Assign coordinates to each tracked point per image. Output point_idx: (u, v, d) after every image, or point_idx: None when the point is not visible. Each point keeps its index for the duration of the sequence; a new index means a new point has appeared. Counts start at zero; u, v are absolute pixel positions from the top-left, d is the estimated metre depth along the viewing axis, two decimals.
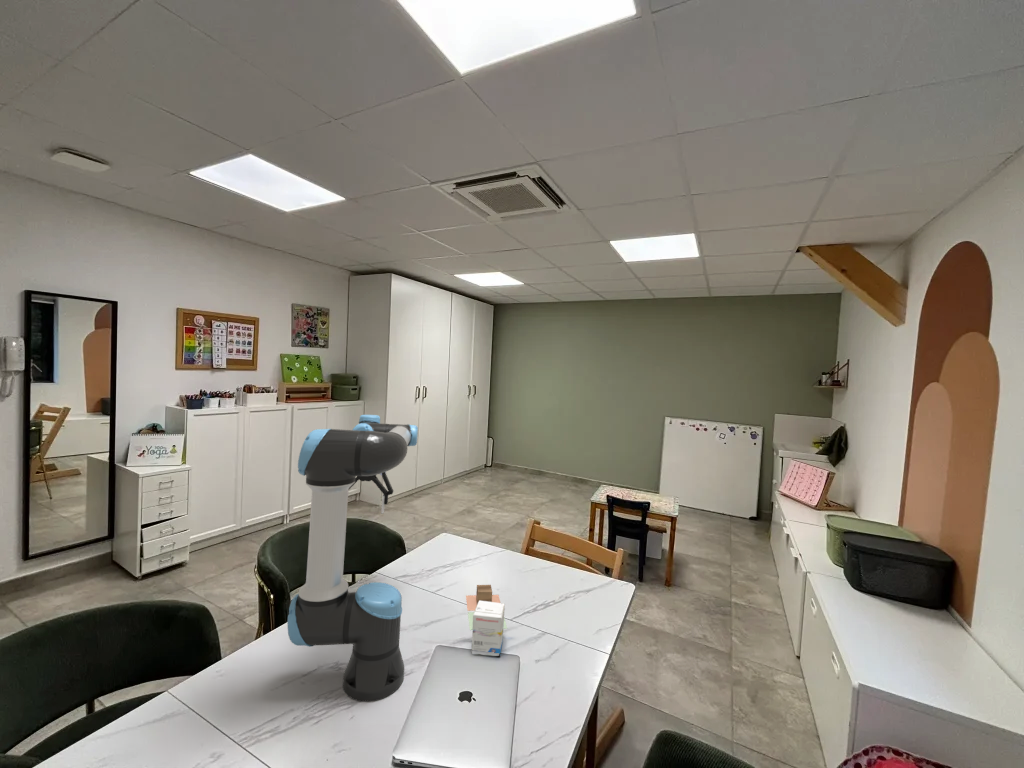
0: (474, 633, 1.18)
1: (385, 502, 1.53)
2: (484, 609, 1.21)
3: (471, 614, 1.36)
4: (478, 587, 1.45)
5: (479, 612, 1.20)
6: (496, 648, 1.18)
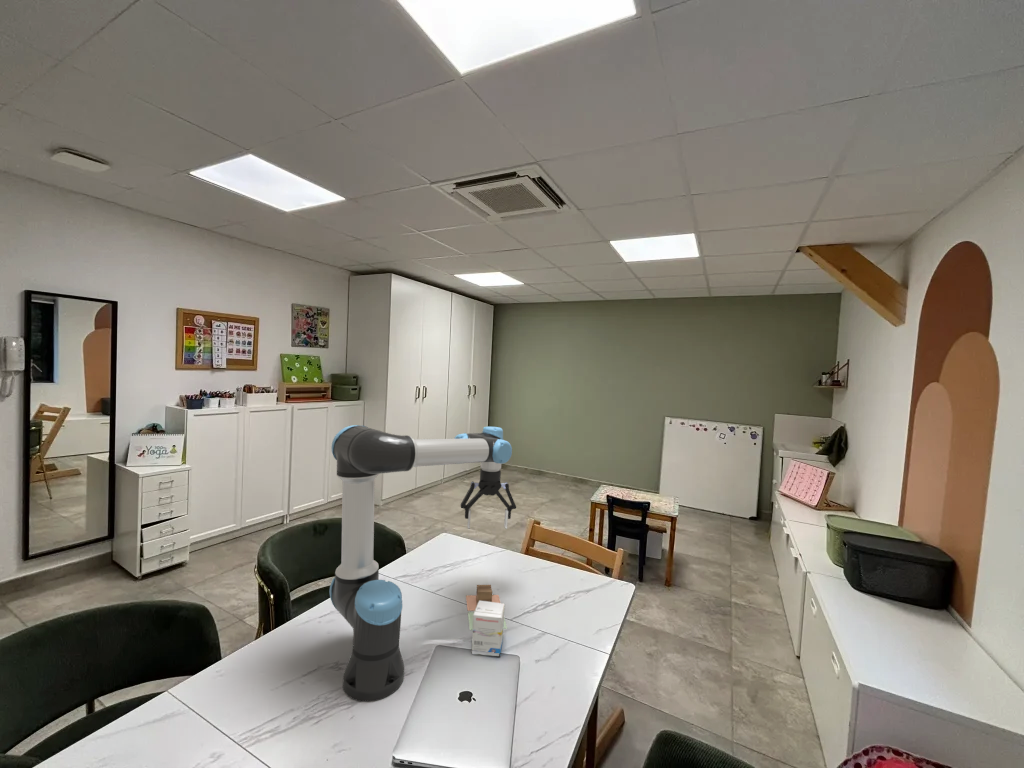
0: (474, 633, 1.18)
1: (508, 517, 1.49)
2: (484, 609, 1.21)
3: (471, 614, 1.36)
4: (478, 587, 1.45)
5: (479, 612, 1.20)
6: (496, 648, 1.18)
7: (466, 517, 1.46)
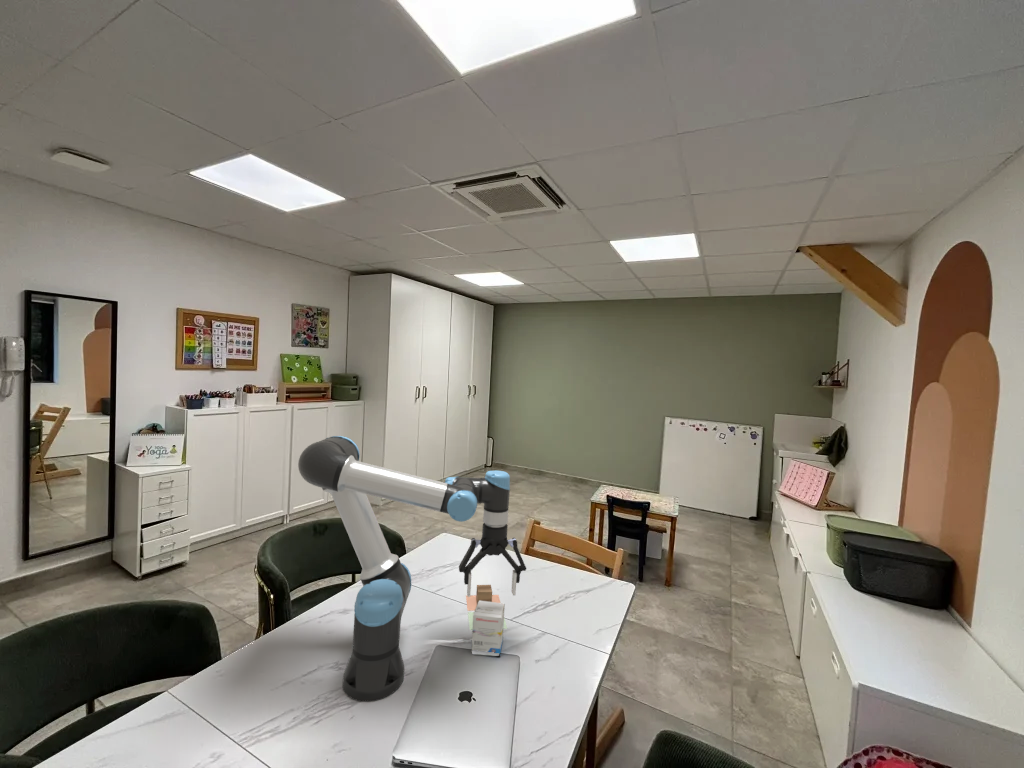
0: (474, 633, 1.18)
1: (517, 580, 1.23)
2: (484, 609, 1.21)
3: (471, 614, 1.36)
4: (478, 587, 1.45)
5: (479, 612, 1.20)
6: (496, 648, 1.18)
7: (466, 582, 1.20)
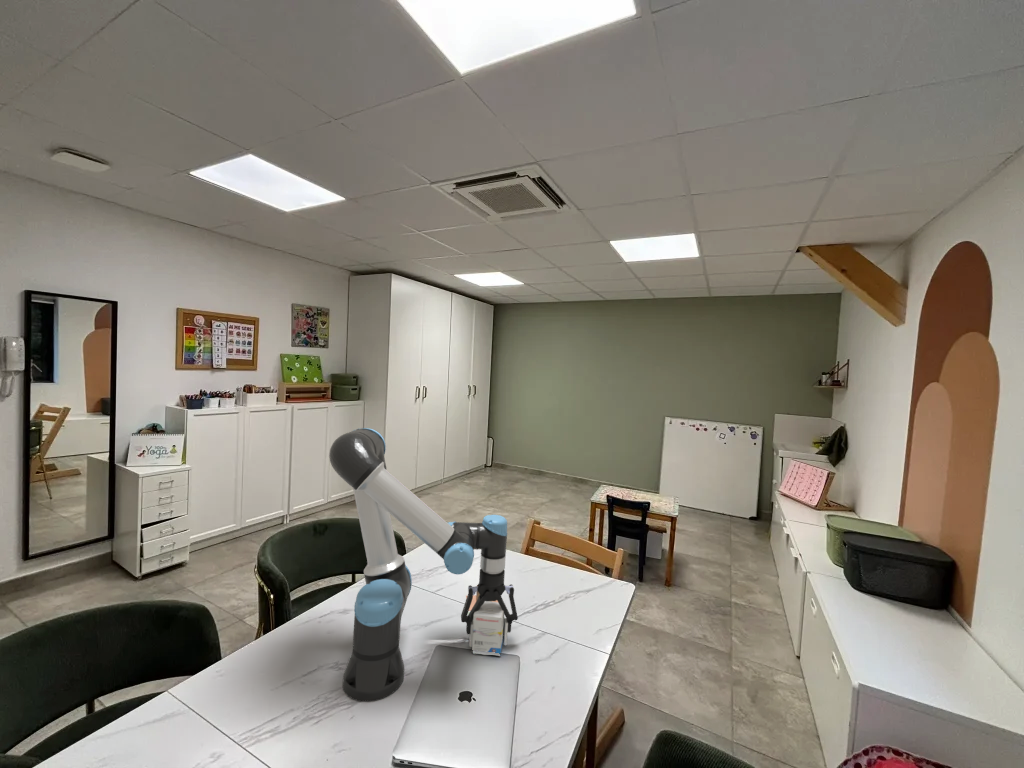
0: (474, 633, 1.18)
1: (508, 630, 1.22)
2: (484, 609, 1.21)
3: None
4: None
5: (479, 612, 1.20)
6: (496, 648, 1.18)
7: (468, 632, 1.20)
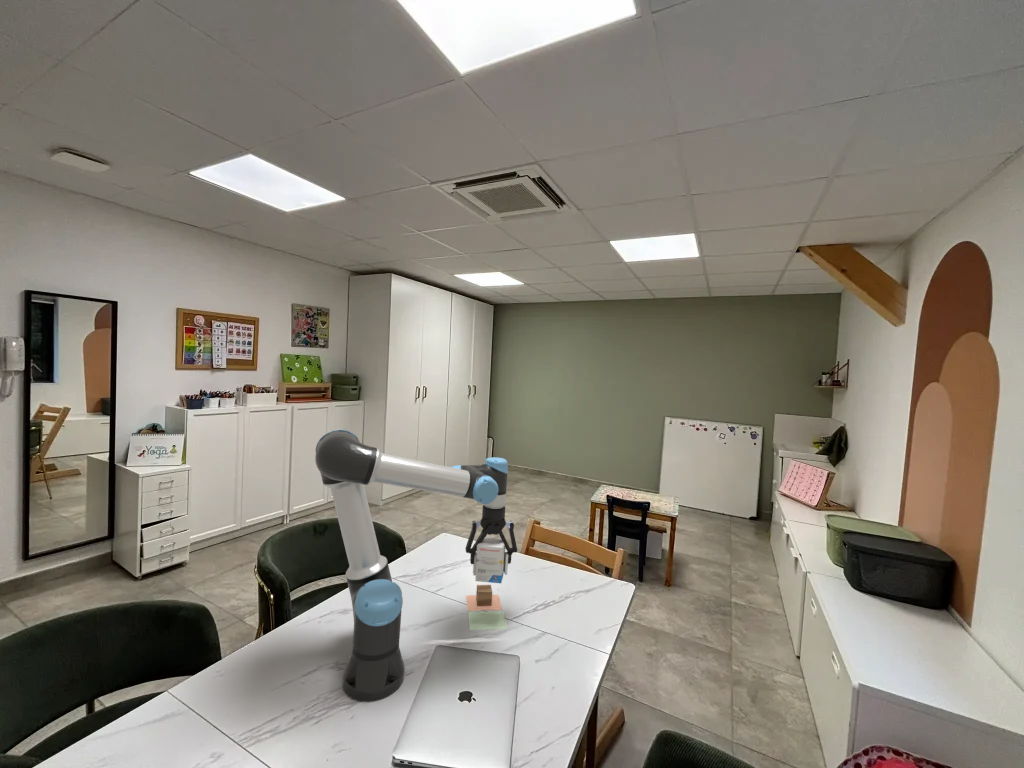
0: (478, 562, 1.30)
1: (509, 561, 1.34)
2: (487, 541, 1.33)
3: (471, 614, 1.36)
4: (478, 587, 1.45)
5: (482, 543, 1.32)
6: (497, 575, 1.29)
7: (472, 562, 1.32)
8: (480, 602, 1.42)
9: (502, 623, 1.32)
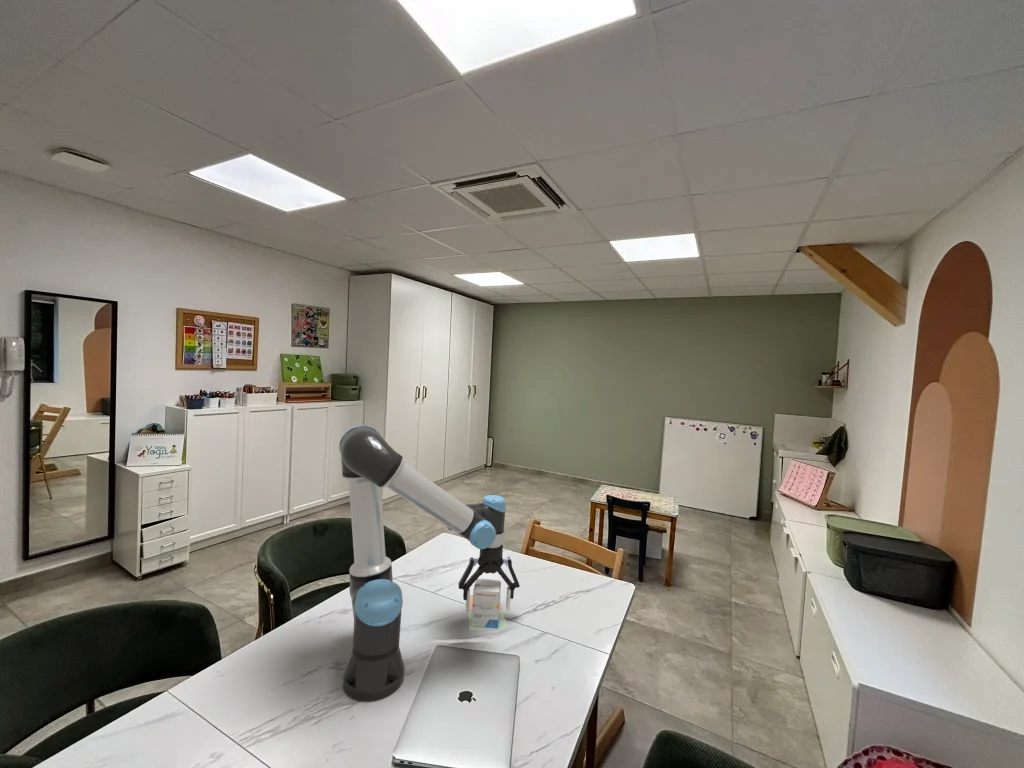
0: (474, 607, 1.29)
1: (511, 596, 1.34)
2: (483, 585, 1.33)
3: (471, 614, 1.36)
4: None
5: (478, 588, 1.31)
6: (494, 620, 1.29)
7: (465, 598, 1.31)
8: None
9: (502, 623, 1.32)
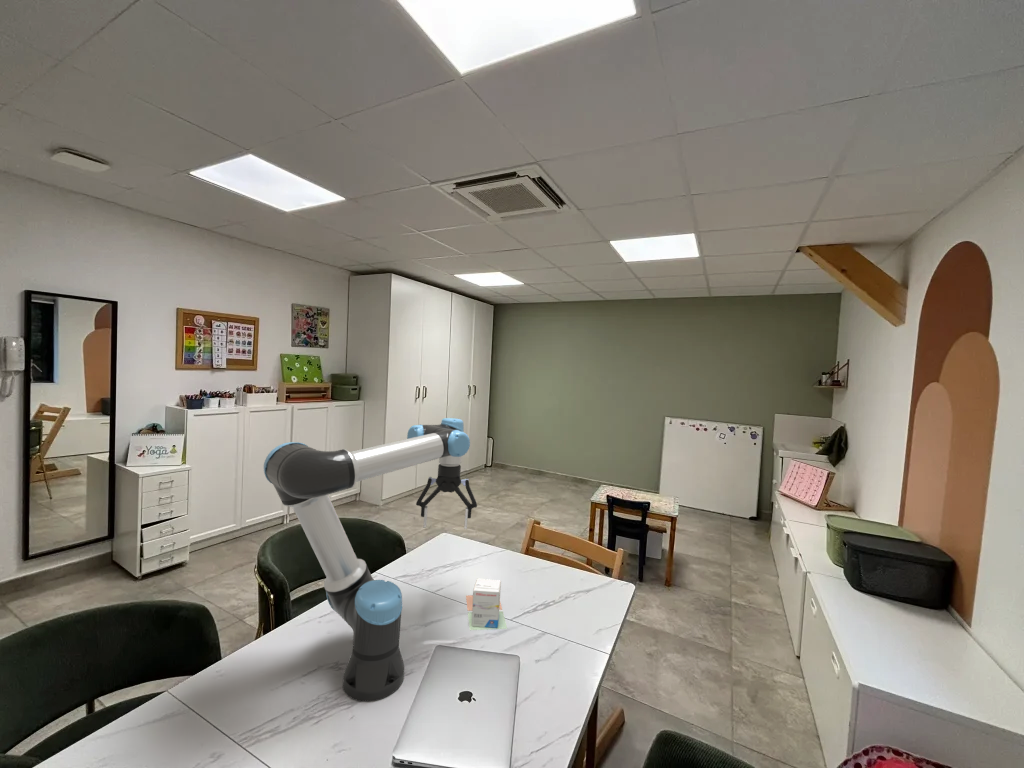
0: (474, 607, 1.29)
1: (468, 516, 1.37)
2: (483, 585, 1.33)
3: (471, 614, 1.36)
4: None
5: (478, 588, 1.31)
6: (494, 620, 1.29)
7: (422, 515, 1.35)
8: None
9: (502, 623, 1.32)
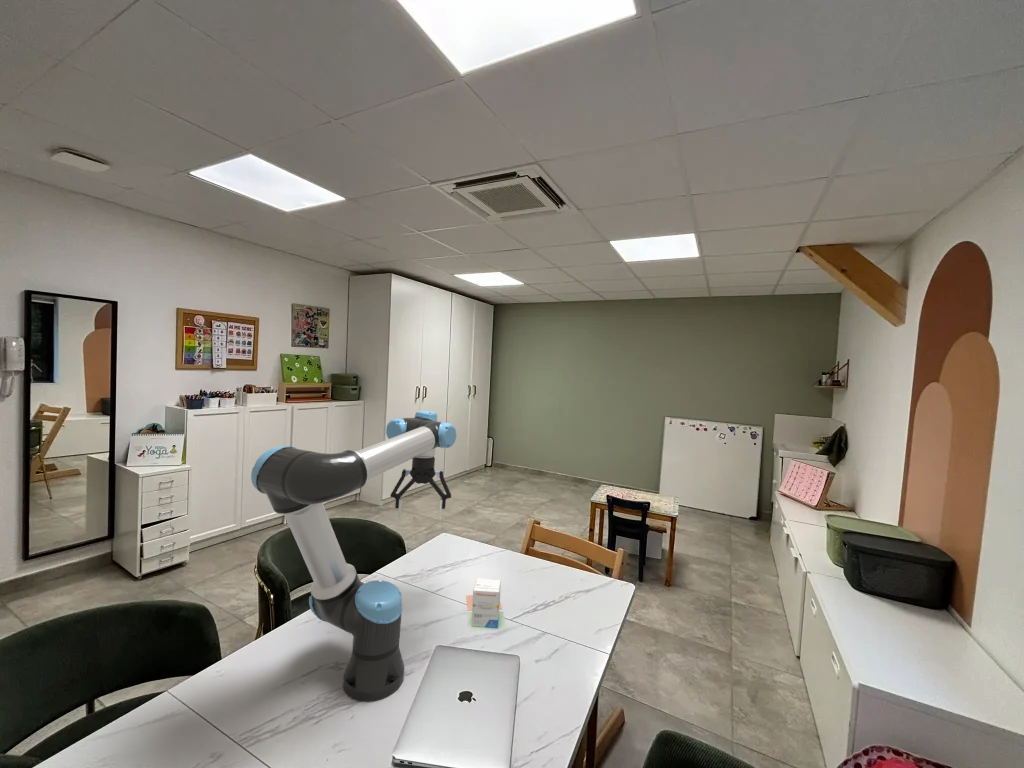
0: (474, 607, 1.29)
1: (443, 506, 1.40)
2: (483, 585, 1.33)
3: (471, 614, 1.36)
4: None
5: (478, 588, 1.31)
6: (494, 620, 1.29)
7: (396, 507, 1.37)
8: None
9: (502, 623, 1.32)
